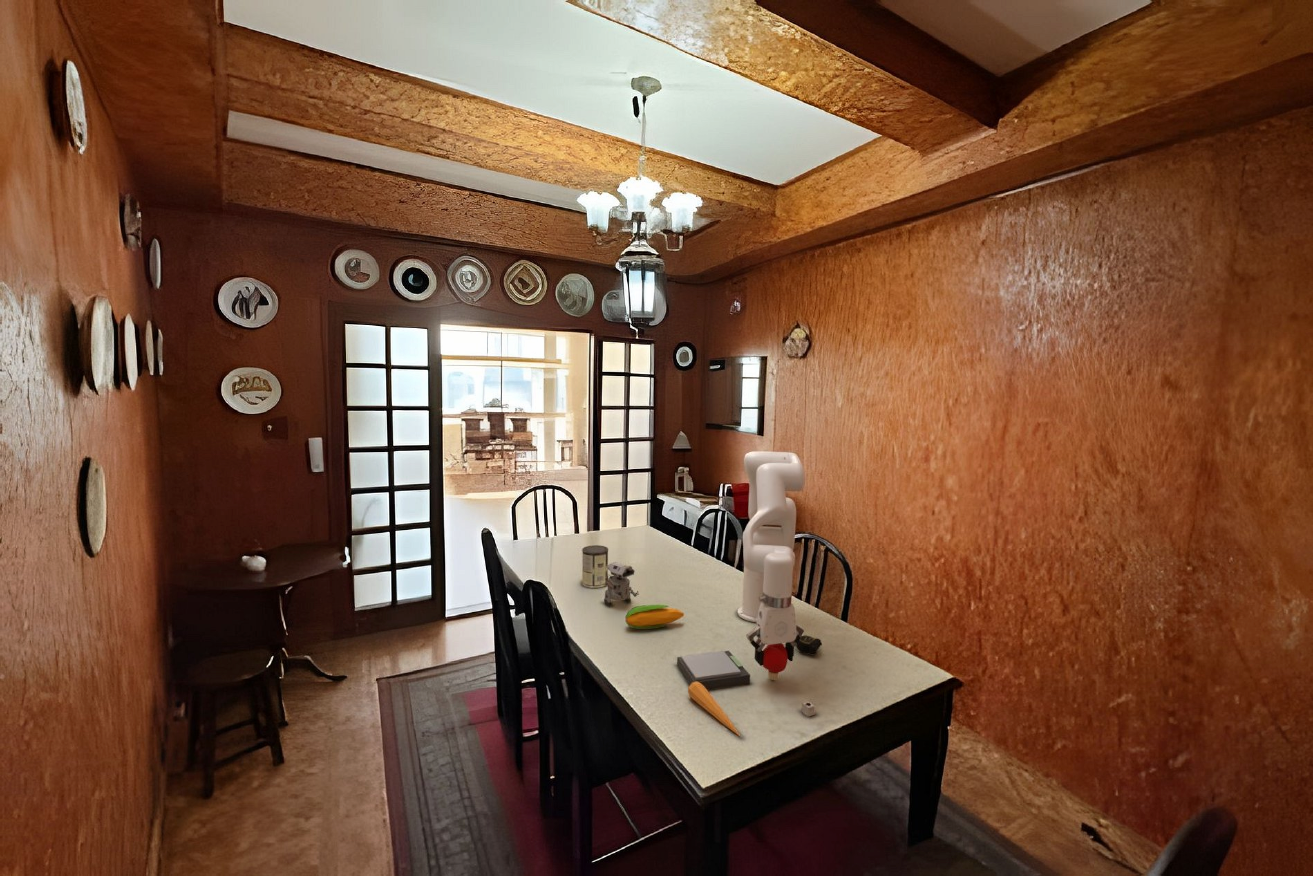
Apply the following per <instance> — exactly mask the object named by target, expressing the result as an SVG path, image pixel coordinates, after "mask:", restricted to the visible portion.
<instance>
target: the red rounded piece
mask: <svg viewBox="0 0 1313 876" xmlns="http://www.w3.org/2000/svg"><path fill="white" fill-rule="evenodd" d="M762 651H763V652H764V656H763V665H762V667H763V668H764V669H766V670H767V671H768V672H767V673H768V675H767V677H768V679H769V680H771V681H772V682H775V681H777V680H778V679H779V673H782V672H784V671H786V668H787V665H788V661H789V660H788V654H787V650H786V648H785V645H784V643H780V644H772V645H765V647H764V648H763V649H762Z"/></svg>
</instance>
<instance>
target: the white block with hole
mask: <svg viewBox="0 0 1313 876" xmlns="http://www.w3.org/2000/svg"><path fill="white" fill-rule="evenodd" d="M801 712H802V714H804V715H805V716H806V717H808V718H809V717H811V716H815V714H816V713H815V712H816V706H815V704H814V703H813V704H812V702H810V701H806V702H803V703H802V704H801Z"/></svg>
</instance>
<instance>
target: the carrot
mask: <svg viewBox="0 0 1313 876" xmlns="http://www.w3.org/2000/svg"><path fill="white" fill-rule="evenodd" d="M687 693H688V697H690V698H691V699H692V700H693V701H694V702H696V703H697V704H698V705H699V706H701V707H702V708H703V709H704V710H705V711H707V712H708V713H709V714H710V715H712V716H713V717H714V718H715V719H716V720H718V721H719V722H720V723H721V724H723V725H724V726H725V727H727V728H728V730H729V729H730V730H731V731H732V732H734V733H735V734H736V735H738V736H739V737H740V738H742V736H741V735H740V733H739V732H738V730H737V729H736V727H735V726H734V724H733V723H732V721H731V720H730V718H729V717H728V716H727V715H726V713H725V712H724V710H723V709H722V708H721V706H720V705H719V703H717V701H716V700H715V699H714V697H713V696H712V694H711V693H710V692H709V691H708V690H707V689H706V688H705V687H704V686H703V685H702V684H701V683H699V682H697V681H696V682H693V683H692V684H691V685H690V684H689V686H688V689H687Z"/></svg>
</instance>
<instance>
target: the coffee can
mask: <svg viewBox="0 0 1313 876" xmlns="http://www.w3.org/2000/svg"><path fill="white" fill-rule="evenodd" d="M581 552H582V561H581V562H582V564H581V565H582V568H581V569H582V570H581V571H582V576H581V577H582V581H581V582H582V583H581V584H582V586H584V587H586V588H592V589H598V588H603V587H605V586H607V585H605V578H606V576H607V575H608V576H609V570H608V569H607V566H608V565H609V548H608V547H607V546H605V545H600V544H599V545H598V544H596V545H587V546H584V547H583V548H582V549H581Z"/></svg>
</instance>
